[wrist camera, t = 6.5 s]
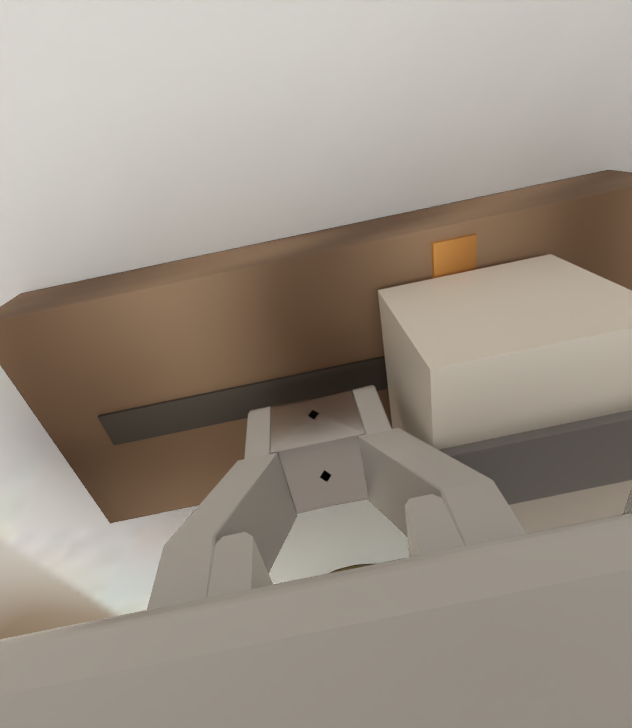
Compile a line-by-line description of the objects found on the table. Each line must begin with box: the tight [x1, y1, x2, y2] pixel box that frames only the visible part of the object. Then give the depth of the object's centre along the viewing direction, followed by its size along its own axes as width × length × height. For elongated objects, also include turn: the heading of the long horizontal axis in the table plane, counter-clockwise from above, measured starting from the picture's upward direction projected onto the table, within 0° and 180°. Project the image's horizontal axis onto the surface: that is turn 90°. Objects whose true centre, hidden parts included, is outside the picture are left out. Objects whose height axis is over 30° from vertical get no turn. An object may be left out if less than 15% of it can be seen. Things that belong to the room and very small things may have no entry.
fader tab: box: [378, 254, 632, 534], centre depth 9 cm, size 4×5×4 cm
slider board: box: [0, 170, 632, 523], centre depth 12 cm, size 16×7×2 cm, turn 99°
